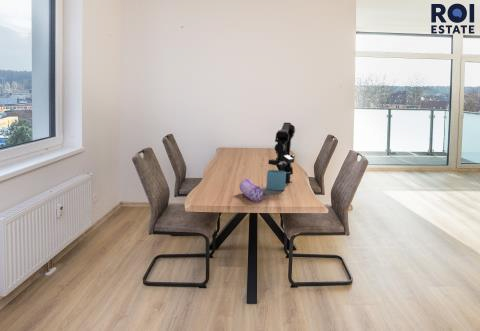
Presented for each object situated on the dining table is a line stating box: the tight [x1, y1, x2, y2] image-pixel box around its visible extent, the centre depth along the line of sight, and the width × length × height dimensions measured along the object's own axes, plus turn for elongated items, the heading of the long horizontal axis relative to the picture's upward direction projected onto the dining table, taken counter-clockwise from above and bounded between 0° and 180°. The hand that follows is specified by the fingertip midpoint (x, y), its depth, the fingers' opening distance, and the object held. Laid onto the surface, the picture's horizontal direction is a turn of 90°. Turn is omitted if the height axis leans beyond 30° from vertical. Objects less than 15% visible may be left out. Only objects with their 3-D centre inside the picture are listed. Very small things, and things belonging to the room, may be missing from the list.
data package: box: [265, 169, 286, 191], centre depth 285 cm, size 12×4×12 cm, turn 85°
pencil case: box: [239, 177, 265, 202], centre depth 265 cm, size 22×9×10 cm, turn 20°
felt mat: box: [260, 187, 282, 196], centre depth 281 cm, size 12×16×1 cm
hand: (280, 174), depth 288 cm, fingers closed
